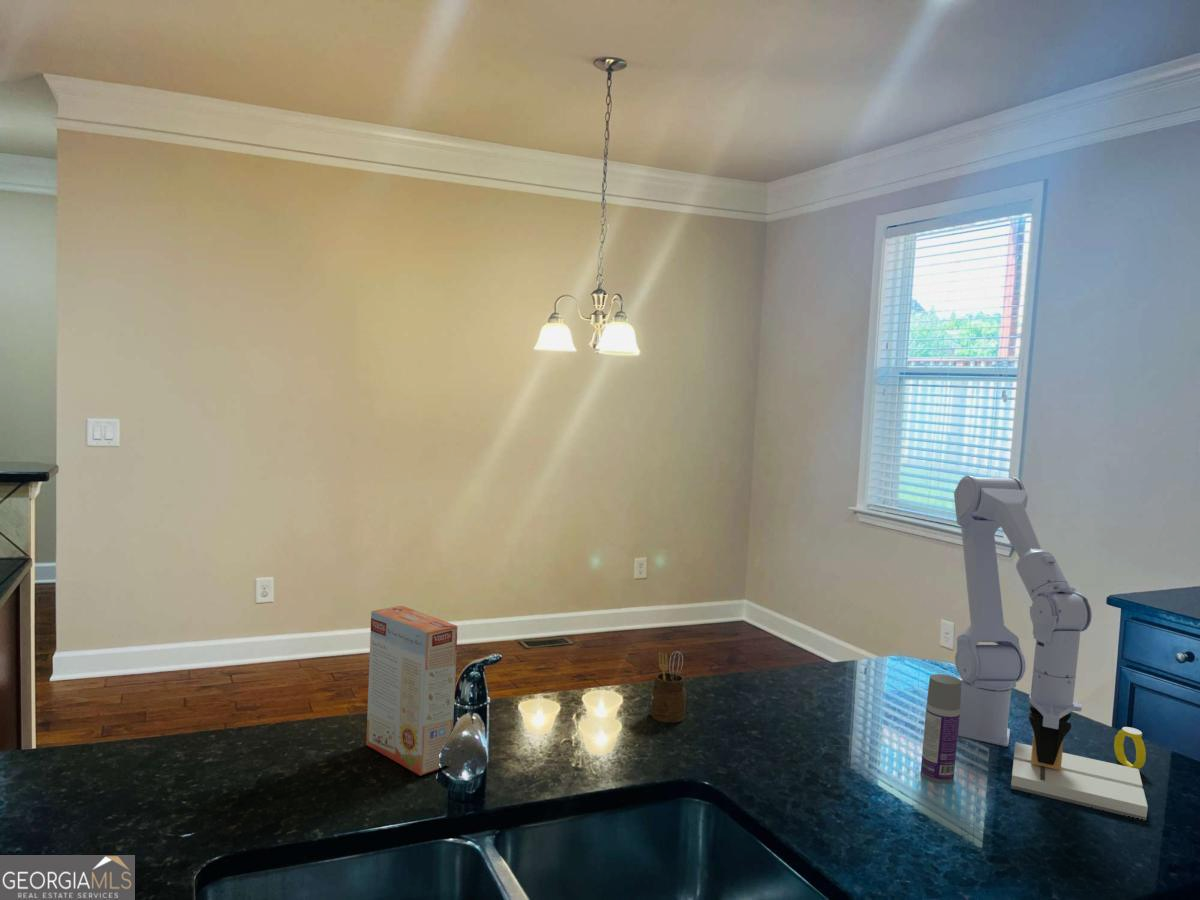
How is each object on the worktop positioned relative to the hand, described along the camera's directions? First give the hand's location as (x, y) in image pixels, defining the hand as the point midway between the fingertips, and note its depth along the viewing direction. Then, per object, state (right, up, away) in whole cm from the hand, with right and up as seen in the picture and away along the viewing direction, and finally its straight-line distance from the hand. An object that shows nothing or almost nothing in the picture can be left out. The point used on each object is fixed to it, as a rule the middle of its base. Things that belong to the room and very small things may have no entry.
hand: (1045, 758), depth 131 cm
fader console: (+4, -3, -2) cm, 5 cm away
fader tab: (0, -3, 0) cm, 3 cm away
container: (-17, -2, -1) cm, 17 cm away
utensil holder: (-56, +1, +16) cm, 59 cm away
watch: (+16, -4, +6) cm, 18 cm away
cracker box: (-96, +2, -4) cm, 96 cm away
